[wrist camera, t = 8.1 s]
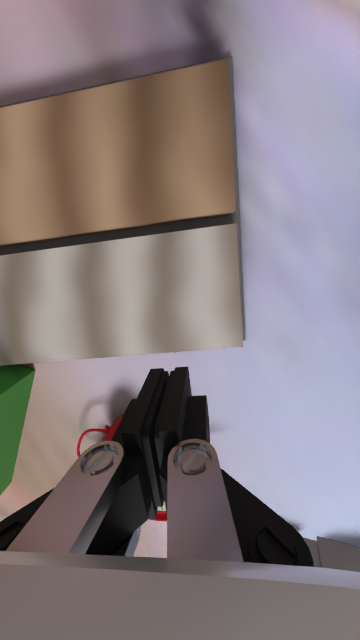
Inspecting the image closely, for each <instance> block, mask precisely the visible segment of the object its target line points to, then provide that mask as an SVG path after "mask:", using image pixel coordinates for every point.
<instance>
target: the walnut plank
mask: <svg viewBox="0 0 360 640" xmlns="http://www.w3.org/2000/svg"><path fill="white" fill-rule="evenodd" d="M235 211H236V203H235V183H234V164H233V144H232V125H231V105H230V85H229V66H228V59H225V60H220V61H216V62H211V63H206V64H202V65H197V66H192V67H188V68H183V69H178V70H174V71H169V72H165V73H160V74H155V75H151V76H146V77H141V78H137V79H132V80H128V81H123V82H118V83H114V84H109V85H104V86H100V87H95V88H91V89H86V90H81V91H77V92H72V93H67V94H63V95H58V96H53V97H49V98H44V99H40V100H35V101H30V102H26V103H21V104H16V105H12V106H7V107H3V108H0V247H2V246H9V245H16V244H23V243H30V242H37V241H44V240H51V239H58V238H65V237H72V236H79V235H86V234H93V233H100V232H108V231H115V230H122V229H129V228H136V227H143V226H150V225H157V224H164V223H171V222H178V221H185V220H192V219H199V218H206V217H214V216H221V215H228V214H233V213H234V212H235Z"/></svg>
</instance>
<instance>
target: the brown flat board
mask: <svg viewBox="0 0 360 640" xmlns="http://www.w3.org/2000/svg"><path fill="white" fill-rule="evenodd" d="M225 59H228V66H229V85H230V105H231V125H232V144H233V164H234V183H235V203H236V211H235V212H234V213H233V214H228V215H221V216H214V217H206V218H199V219H192V220H185V221H178V222H171V223H164V224H157V225H150V226H143V227H136V228H129V229H122V230H115V231H108V232H100V233H93V234H86V235H79V236H72V237H65V238H58V239H51V240H44V241H37V242H30V243H23V244H16V245H9V246H2V247H0V256H1V255H8V254H15V253H23V252H30V251H37V250H45V249H52V248H59V247H67V246H74V245H81V244H89V243H96V242H103V241H110V240H118V239H125V238H132V237H140V236H147V235H154V234H162V233H169V232H176V231H184V230H191V229H198V228H206V227H213V226H220V225H227V224H235V223H237V239H238V258H239V277H240V296H241V315H242V334H243V340H245V319H244V298H243V277H242V256H241V235H240V213H239V192H238V171H237V150H236V129H235V108H234V86H233V65H232V56H231V57H226V58H221V59H217V60H212V61H207V62H203V63H198V64H194V65H189V66H184V67H180V68H175V69H171V70H166V71H161V72H157V73H152V74H147V75H143V76H138V77H134V78H129V79H124V80H120V81H115V82H111V83H106V84H101V85H97V86H92V87H88V88H83V89H78V90H74V91H69V92H64V93H60V94H55V95H51V96H46V97H41V98H37V99H32V100H28V101H23V102H18V103H14V104H9V105H5V106H0V108H3V107H7V106H12V105H16V104H21V103H26V102H30V101H35V100H40V99H44V98H49V97H53V96H58V95H63V94H67V93H72V92H77V91H81V90H86V89H91V88H95V87H100V86H104V85H109V84H114V83H118V82H123V81H128V80H132V79H137V78H141V77H146V76H151V75H155V74H160V73H165V72H169V71H174V70H178V69H183V68H188V67H192V66H197V65H202V64H206V63H211V62H216V61H220V60H225Z"/></svg>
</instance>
